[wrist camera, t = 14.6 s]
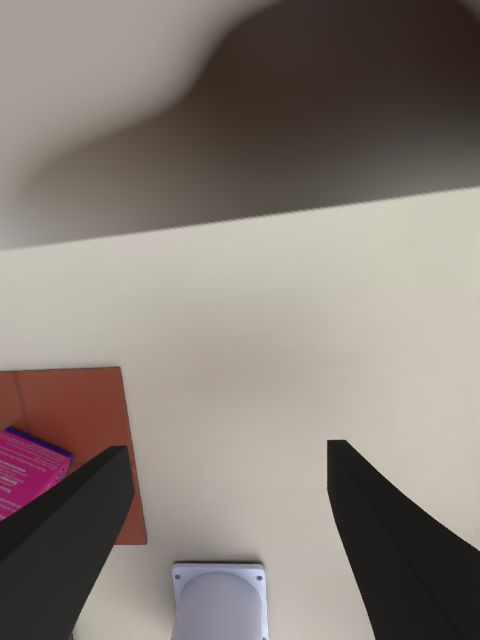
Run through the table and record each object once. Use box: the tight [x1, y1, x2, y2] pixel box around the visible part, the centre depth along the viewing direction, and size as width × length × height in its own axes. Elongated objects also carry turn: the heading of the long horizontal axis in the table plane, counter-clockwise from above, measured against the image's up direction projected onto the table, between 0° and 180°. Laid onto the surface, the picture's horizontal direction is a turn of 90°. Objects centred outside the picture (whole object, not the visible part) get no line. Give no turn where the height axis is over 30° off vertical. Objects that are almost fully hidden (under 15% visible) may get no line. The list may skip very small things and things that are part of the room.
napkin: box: [0, 367, 147, 545], centre depth 23 cm, size 16×16×1 cm
